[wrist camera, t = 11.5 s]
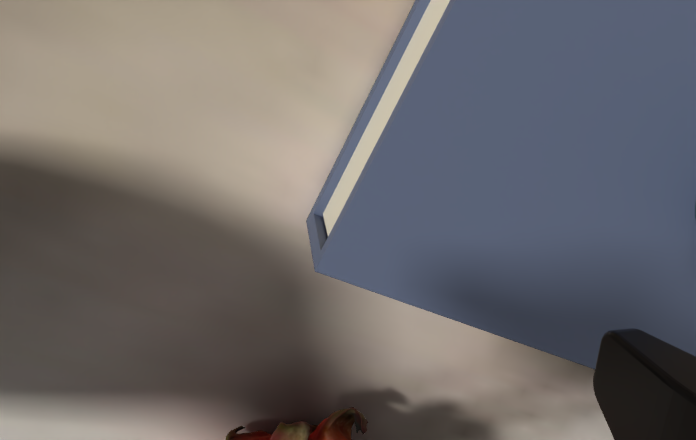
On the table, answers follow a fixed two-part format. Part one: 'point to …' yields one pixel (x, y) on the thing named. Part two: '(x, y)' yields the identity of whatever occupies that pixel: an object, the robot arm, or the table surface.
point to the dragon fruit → (311, 429)
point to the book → (527, 172)
